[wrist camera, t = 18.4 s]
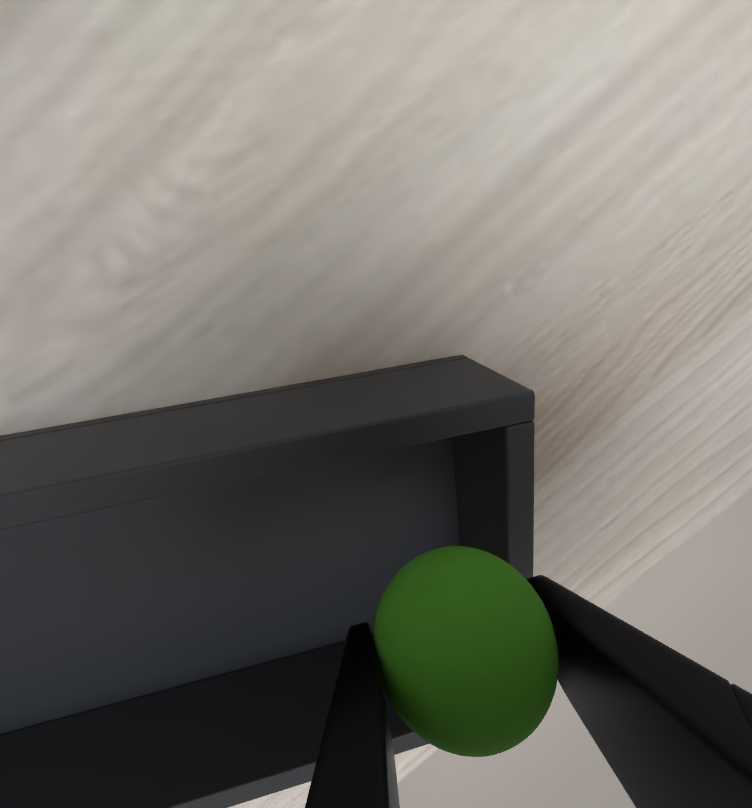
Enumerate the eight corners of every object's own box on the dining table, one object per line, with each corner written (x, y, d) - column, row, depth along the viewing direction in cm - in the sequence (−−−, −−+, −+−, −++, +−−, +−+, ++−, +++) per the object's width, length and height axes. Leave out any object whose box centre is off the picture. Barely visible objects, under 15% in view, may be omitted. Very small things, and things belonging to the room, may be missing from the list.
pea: (502, 613, 11) (597, 768, 7) (369, 650, 10) (409, 835, 7) (499, 498, 9) (611, 621, 6) (349, 533, 9) (385, 688, 6)
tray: (477, 608, 18) (533, 711, 14) (-202, 793, 14) (-403, 1008, 10) (463, 354, 14) (536, 390, 10) (-476, 519, 10) (-986, 687, 6)
